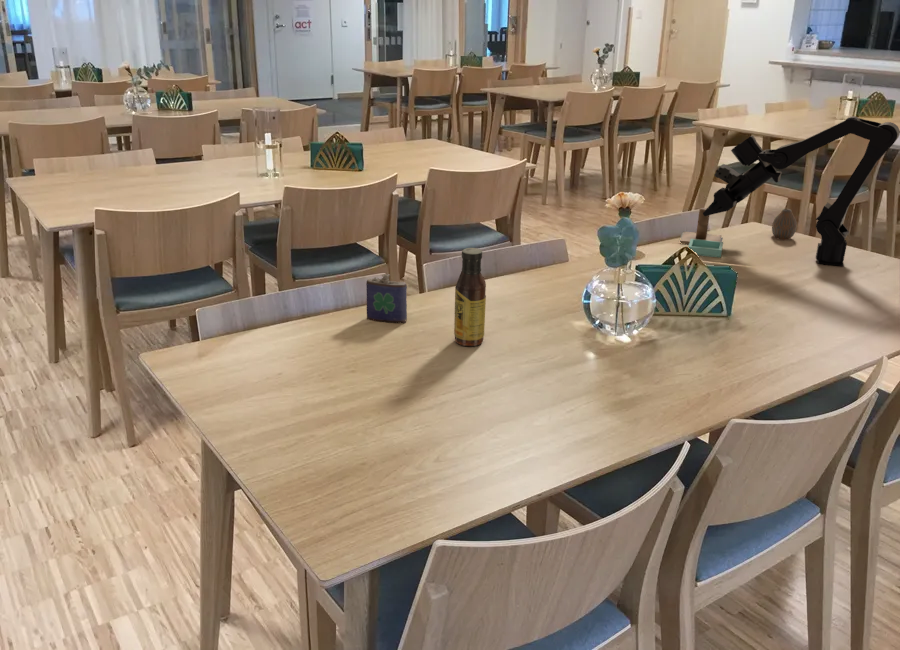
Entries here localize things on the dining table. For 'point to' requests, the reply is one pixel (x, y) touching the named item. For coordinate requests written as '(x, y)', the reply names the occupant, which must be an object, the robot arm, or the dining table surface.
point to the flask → (386, 300)
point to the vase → (784, 225)
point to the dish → (706, 247)
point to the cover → (700, 230)
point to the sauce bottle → (470, 300)
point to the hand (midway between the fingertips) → (708, 211)
